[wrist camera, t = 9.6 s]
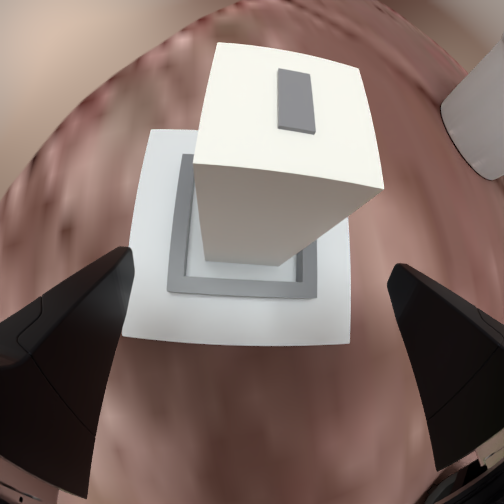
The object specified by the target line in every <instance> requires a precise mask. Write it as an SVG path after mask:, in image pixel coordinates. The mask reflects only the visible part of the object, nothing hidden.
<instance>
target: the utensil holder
mask: <svg viewBox="0 0 504 504" xmlns="http://www.w3.org/2000/svg"><path fill="white" fill-rule="evenodd" d="M441 114H442V118H443V121H444V124H445V126H446V129H447V131H448V133H449V135H450V137H451V139H452V140H453V142H454V144H455V145H456V147H457V148H458V150H459V151H460V153H461V154H462V156H463V157H464V158H465V160H466V161H467V162H468V163H469V164H470V165H471V167H472V168H473V169H474V170H475V171H476V172H477V173H479V174H480V175H481V176H483V177H484V178H486V179H489V180H494V179H497V178H499V177H501V176H503V175H504V33H503V34H502V39H501V40H500V41H499V42H498V43H497V44H496V45H495V46H494V47H493V49H492V50H491V51H490V52H489V53H488V54H487V55H486V56H485V57H484V58H483V59H482V60H481V61H480V62H479V63H478V64H477V65H476V67H475V68H474V69H473V70H472V71H471V72H470V73H469V74H468V75H467V76H466V77H465V78H464V79H463V80H462V81H461V82H460V83H459V84H458V86H457V87H456V88H455V89H454V90H453V91H452V92H451V93H450V94H449V95H448V96H447V98H446V99H445V100H444V101H443V102H442V105H441Z"/></svg>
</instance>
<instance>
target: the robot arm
mask: <svg viewBox="0 0 504 504" xmlns="http://www.w3.org/2000/svg"><path fill="white" fill-rule="evenodd" d="M134 276H135V267H134V260H133V252H132V249H131V248H130V247H122V246H120V247H117V248H115V249H114V250H112V251H110V252H109V253H107V254H105V255H104V256H102V257H100V258H99V259H97V260H96V261H94V262H92V263H91V264H89V265H87V266H86V267H84V268H83V269H81V270H80V271H78V272H76V273H75V274H73V275H72V276H70V277H69V278H67V279H65V280H64V281H62V282H61V283H59V284H58V285H56V286H55V287H53V288H52V289H50V290H49V291H47V292H46V293H44V294H43V295H42V297H41V296H40V297H38V298H37V299H36V300H34V301H33V302H31V303H30V304H28V305H27V306H25V307H24V308H22V309H21V310H20V311H18V312H16V313H15V314H13V315H12V316H10V317H8V318H7V319H5V320H4V321H2V322H0V504H57V501H58V494H59V490H61V491H64V492H66V493H69V494H72V495H75V496H78V497H81V498H84V499H87V495H88V486H89V477H90V469H91V462H92V456H93V449H94V444H95V436H96V432H97V426H98V421H99V416H100V412H101V407H102V402H103V398H104V394H105V390H106V385H107V381H108V377H109V373H110V370H111V366H112V362H113V358H114V355H115V351H116V348H117V344H118V341H119V338H120V334H121V331H122V328H123V324H124V321H125V318H126V314H127V309H128V304H129V299H130V294H131V290H132V285H133V280H134ZM387 288H388V292H389V295H390V299H391V302H392V306H393V310H394V313H395V317H396V321H397V324H398V327H399V330H400V332H401V335H402V338H403V341H404V344H405V347H406V350H407V353H408V356H409V359H410V362H411V366H412V369H413V372H414V375H415V379H416V382H417V386H418V389H419V393H420V397H421V400H422V404H423V408H424V412H425V416H426V420H427V426H428V430H429V435H430V440H431V444H432V450H433V455H434V461H435V467H436V470H437V472H438V471H440V470H442V469H444V468H445V467H447V466H449V465H451V464H453V463H455V462H457V461H458V460H460V459H462V458H463V457H465V456H467V455H469V454H470V453H472V452H473V451H475V452H476V455H477V458H478V459H476V460H475V461H473V462H472V463H470V464H468V465H467V466H465V467H464V468H462V469H460V470H459V471H458V473H457V476H456V479H455V482H454V485H453V487H452V490H451V492H450V495H449V496H447V497H445V498H444V499H442V500H440V501H438V502H436V503H435V504H504V325H503V324H501V323H500V322H498V321H497V320H495V319H494V318H492V317H491V316H489V315H487V314H486V313H484V312H483V311H481V310H480V309H478V308H476V307H475V306H474V305H472V304H471V303H469V302H468V301H466V300H465V299H463V298H462V297H460V296H458V295H457V294H455V293H454V292H452V291H451V290H449V289H447V288H446V287H444V286H442V285H441V284H439V283H438V282H436V281H434V280H433V279H431V278H429V277H428V276H426V275H424V274H423V273H421V272H419V271H418V270H416V269H414V268H413V267H411V266H409V265H407V264H403V263H397V264H396V265H395V266H394V268H393V270H392V273H391V275H390V277H389V279H388V282H387Z"/></svg>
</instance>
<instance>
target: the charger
mask: <svg viewBox="0 0 504 504" xmlns="http://www.w3.org/2000/svg"><path fill="white" fill-rule="evenodd" d="M193 170H194V179H195V188H196V196H197V204H198V212H199V220H200V228H201V235H202V242H203V249H204V256H205V261H211V262H224V263H238V264H251V265H265V266H280V265H281V264H283V263H284V262H286V261H287V260H288V259H290V258H291V257H293V256H294V255H295V254H297V253H298V252H300V251H301V250H302V249H304V248H305V247H307V246H308V245H309V244H311V243H312V242H314V241H315V240H316V239H318V238H319V237H321V236H322V235H323V234H325V233H326V232H327V231H329V230H330V229H332V228H333V227H334V226H336V225H337V224H338V223H340V222H341V221H343V220H344V219H345V218H347V217H348V216H349V215H351V214H352V213H353V212H355V211H356V210H357V209H359V208H360V207H361V206H363V205H364V204H365V203H367V202H368V201H369V200H371V199H372V198H373V197H375V196H376V195H377V194H379V193H380V192H381V191H383V190H384V184H383V177H382V170H381V164H380V158H379V152H378V147H377V142H376V137H375V132H374V127H373V122H372V118H371V114H370V109H369V105H368V101H367V97H366V93H365V90H364V86H363V82H362V79H361V75H360V72H359V69H358V68H355V67H352V66H348V65H345V64H341V63H338V62H334V61H330V60H327V59H323V58H318V57H314V56H310V55H305V54H301V53H296V52H291V51H285V50H279V49H273V48H267V47H260V46H252V45H243V44H233V43H220V42H218V43H217V47H216V51H215V55H214V59H213V64H212V68H211V72H210V77H209V81H208V85H207V90H206V95H205V100H204V104H203V109H202V114H201V119H200V125H199V130H198V136H197V141H196V147H195V153H194V159H193Z"/></svg>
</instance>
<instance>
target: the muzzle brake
mask: <svg viewBox="0 0 504 504" xmlns="http://www.w3.org/2000/svg"><path fill="white" fill-rule="evenodd" d="M457 473H458V472H456V473H454V474H452V475H451V476H449V477H448V478H446V479H445V480H443V481H442V482H441V483H440V484H439V485H438V486H437V485H434V486H433V487H432V488H431V489H430V490H429V491H428V493H429V494H430V495H429V496H428V498H427V500H426V501H425V503H424V504H435V503H436V502H438V501H440V500H442V499H444V498H445V497H447V496H449V495H450V492H451V490H452V487H453V485H454V482H455V479H456V476H457Z"/></svg>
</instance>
